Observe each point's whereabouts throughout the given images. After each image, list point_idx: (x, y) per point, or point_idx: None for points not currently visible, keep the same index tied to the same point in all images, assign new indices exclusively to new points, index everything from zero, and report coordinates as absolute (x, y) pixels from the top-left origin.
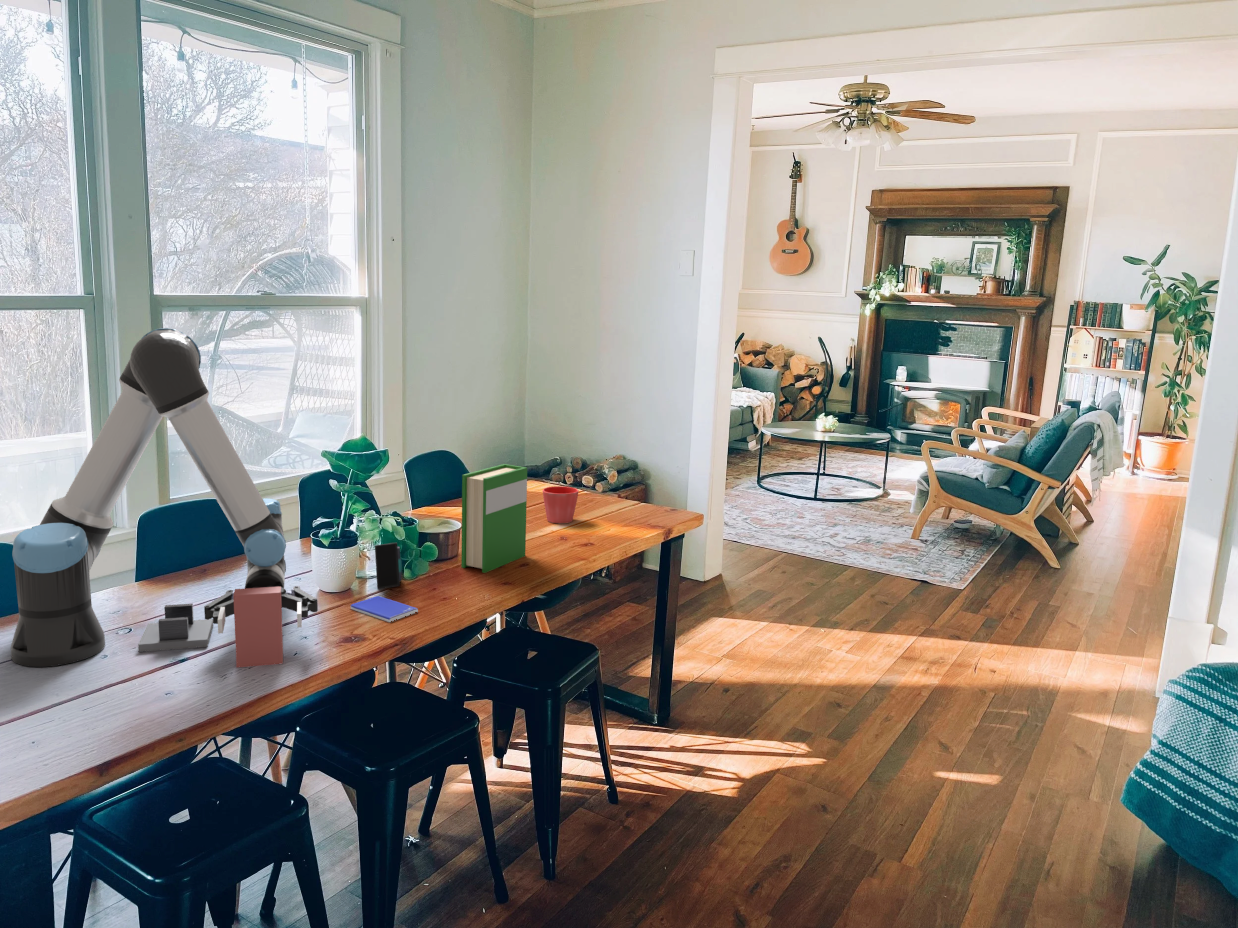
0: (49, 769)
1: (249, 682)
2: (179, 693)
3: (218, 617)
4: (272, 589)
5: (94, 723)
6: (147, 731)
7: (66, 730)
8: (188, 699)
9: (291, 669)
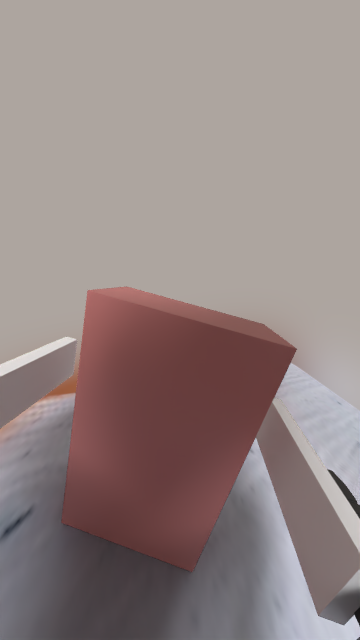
0: (292, 371)
1: None
2: None
3: (288, 412)
4: (137, 296)
5: (314, 408)
6: None
7: (329, 408)
8: None
9: None
